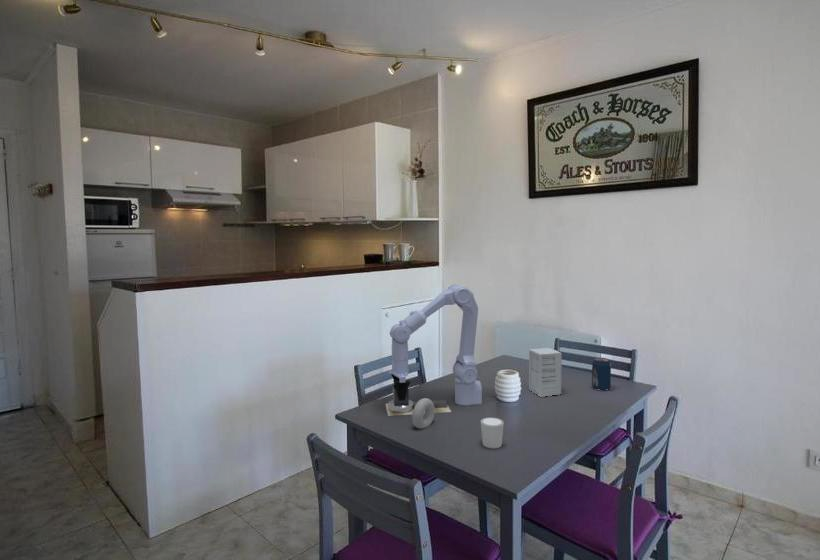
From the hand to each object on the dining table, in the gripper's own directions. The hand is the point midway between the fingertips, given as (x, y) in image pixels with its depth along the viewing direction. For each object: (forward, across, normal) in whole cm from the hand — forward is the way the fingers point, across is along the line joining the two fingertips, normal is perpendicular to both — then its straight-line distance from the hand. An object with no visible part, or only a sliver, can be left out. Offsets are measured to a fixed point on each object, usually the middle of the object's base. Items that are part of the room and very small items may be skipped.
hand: (400, 396), depth 168 cm
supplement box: (+6, -11, +58) cm, 59 cm away
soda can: (+6, -12, +82) cm, 83 cm away
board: (+6, 0, +6) cm, 8 cm away
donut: (+6, +16, +6) cm, 18 cm away
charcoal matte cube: (+2, 0, 0) cm, 2 cm away
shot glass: (+6, +30, +24) cm, 39 cm away
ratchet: (+4, 0, +6) cm, 7 cm away
